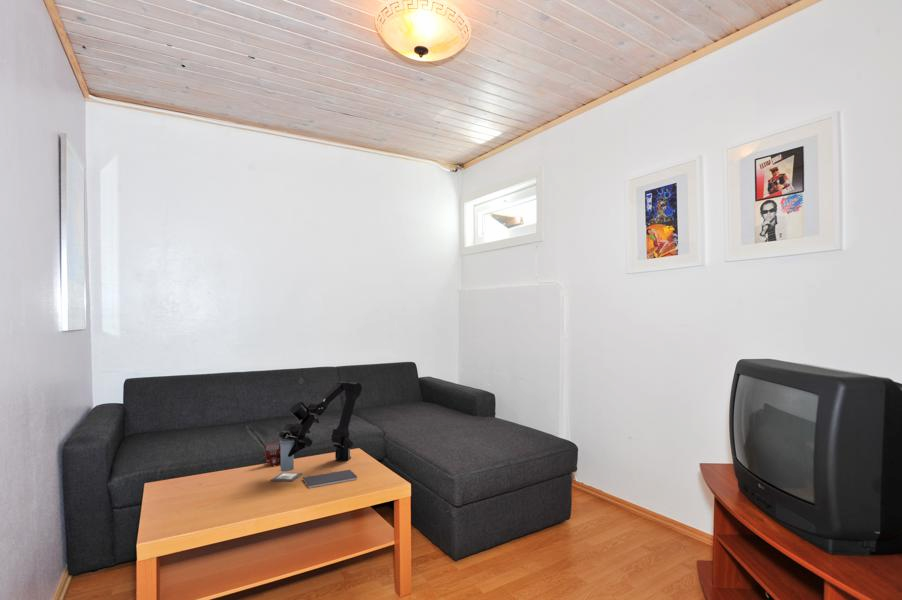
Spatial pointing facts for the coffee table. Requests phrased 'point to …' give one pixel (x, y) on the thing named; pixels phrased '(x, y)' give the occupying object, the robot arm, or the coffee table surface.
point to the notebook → (329, 478)
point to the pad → (286, 477)
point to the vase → (286, 455)
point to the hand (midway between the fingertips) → (284, 455)
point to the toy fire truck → (272, 453)
